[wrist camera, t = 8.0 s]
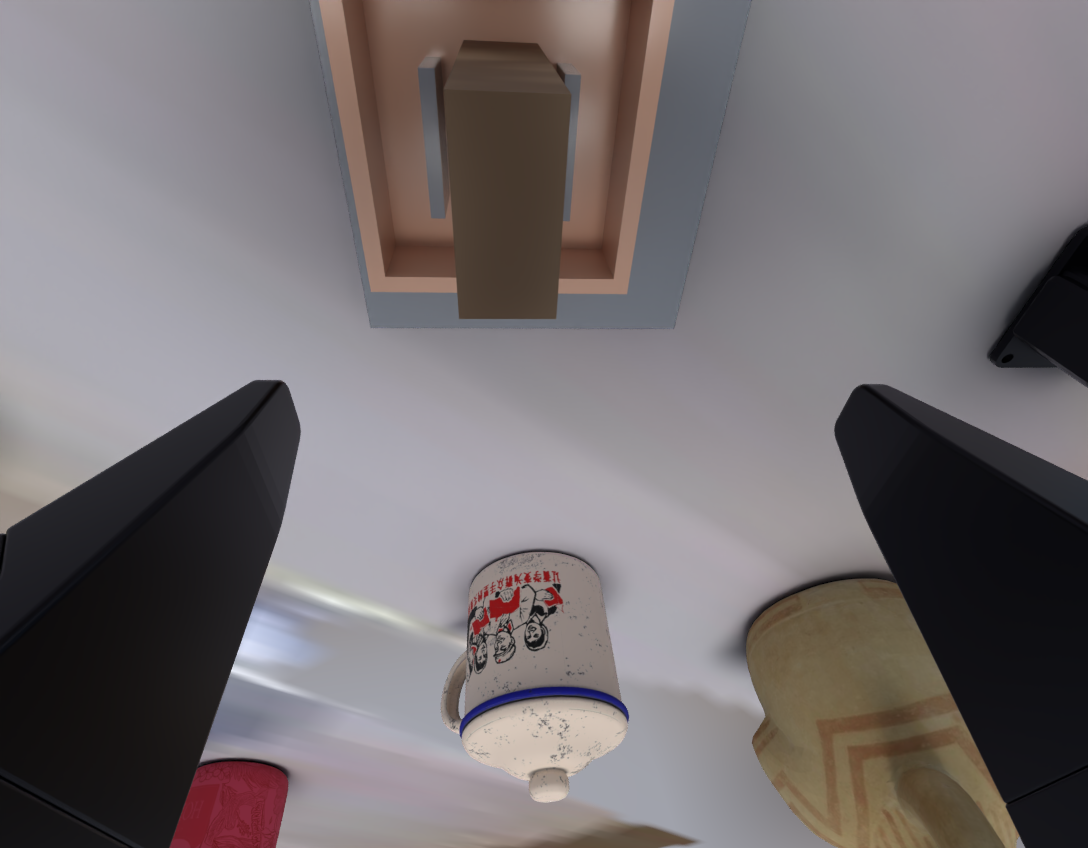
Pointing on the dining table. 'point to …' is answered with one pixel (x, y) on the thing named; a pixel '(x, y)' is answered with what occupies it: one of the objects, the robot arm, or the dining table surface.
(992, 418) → the dining table surface
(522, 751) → the teacup with lid
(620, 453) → the dining table surface
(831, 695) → the ceramic vessel
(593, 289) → the open square box
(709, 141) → the slate board
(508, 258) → the beveled wooden wedge block
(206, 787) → the wine bottle
